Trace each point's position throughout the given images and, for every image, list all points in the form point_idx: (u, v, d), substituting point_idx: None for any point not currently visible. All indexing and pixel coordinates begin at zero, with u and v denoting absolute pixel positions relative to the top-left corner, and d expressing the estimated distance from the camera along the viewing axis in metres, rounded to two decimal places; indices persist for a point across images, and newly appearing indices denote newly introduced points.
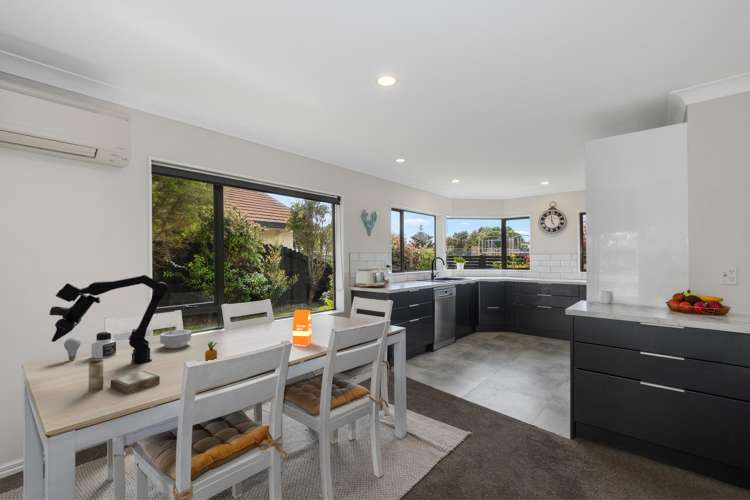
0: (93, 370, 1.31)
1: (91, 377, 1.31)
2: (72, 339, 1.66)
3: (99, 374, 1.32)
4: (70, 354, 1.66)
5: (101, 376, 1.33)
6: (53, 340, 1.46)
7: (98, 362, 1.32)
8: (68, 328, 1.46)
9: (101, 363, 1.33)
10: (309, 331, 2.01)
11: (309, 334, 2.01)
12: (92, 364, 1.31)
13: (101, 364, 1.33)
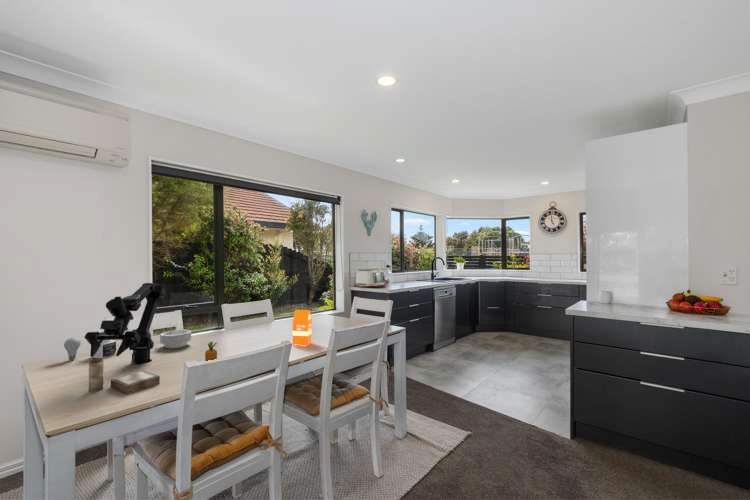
0: (93, 370, 1.31)
1: (91, 377, 1.31)
2: (72, 339, 1.66)
3: (99, 374, 1.32)
4: (70, 354, 1.66)
5: (101, 376, 1.33)
6: (118, 354, 1.39)
7: (98, 362, 1.32)
8: (138, 340, 1.46)
9: (101, 363, 1.33)
10: (309, 331, 2.01)
11: (309, 334, 2.01)
12: (92, 364, 1.31)
13: (101, 364, 1.33)
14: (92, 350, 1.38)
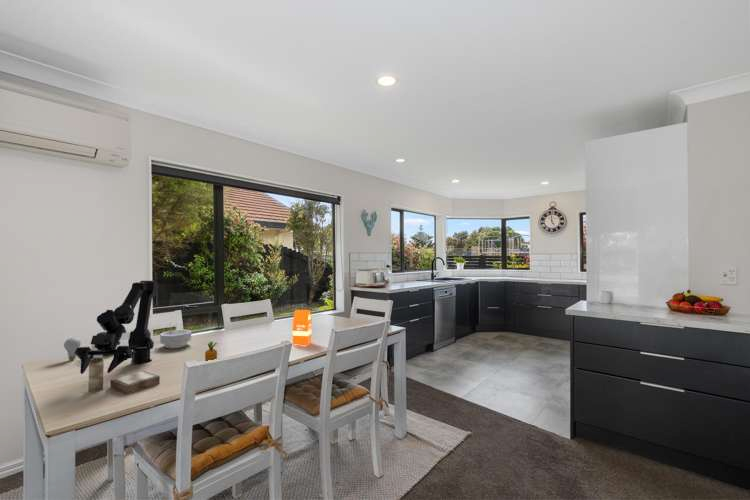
0: (93, 370, 1.31)
1: (91, 377, 1.31)
2: (72, 339, 1.66)
3: (99, 374, 1.32)
4: (70, 354, 1.66)
5: (101, 376, 1.33)
6: (109, 371, 1.34)
7: (98, 362, 1.32)
8: (131, 355, 1.41)
9: (101, 363, 1.33)
10: (309, 331, 2.01)
11: (309, 334, 2.01)
12: (92, 364, 1.31)
13: (101, 364, 1.33)
14: (82, 366, 1.33)
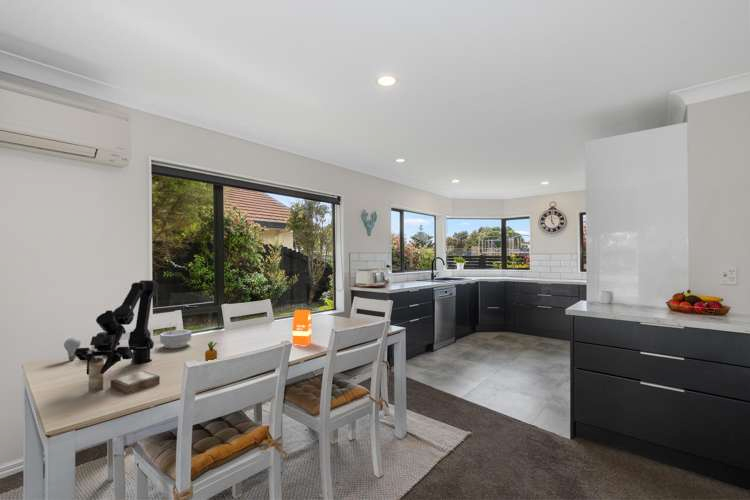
0: (93, 370, 1.31)
1: (91, 377, 1.31)
2: (72, 339, 1.66)
3: (99, 374, 1.32)
4: (70, 354, 1.66)
5: (101, 376, 1.33)
6: (103, 372, 1.33)
7: (98, 362, 1.32)
8: (131, 356, 1.41)
9: (101, 363, 1.33)
10: (309, 331, 2.01)
11: (309, 334, 2.01)
12: (92, 364, 1.31)
13: (101, 364, 1.33)
14: (88, 367, 1.33)
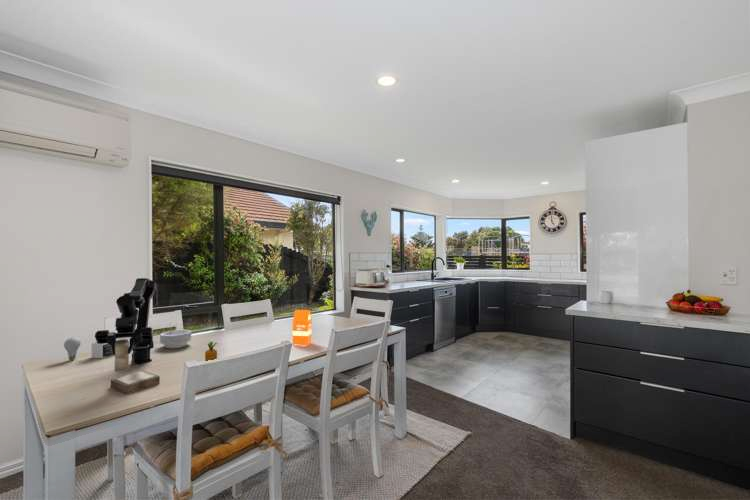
0: (121, 350, 1.34)
1: (118, 357, 1.34)
2: (72, 339, 1.66)
3: (126, 354, 1.36)
4: (70, 354, 1.66)
5: (128, 356, 1.36)
6: (129, 352, 1.37)
7: (125, 342, 1.35)
8: (152, 336, 1.45)
9: (128, 343, 1.36)
10: (309, 331, 2.01)
11: (309, 334, 2.01)
12: (120, 344, 1.34)
13: (128, 344, 1.36)
14: (114, 348, 1.35)
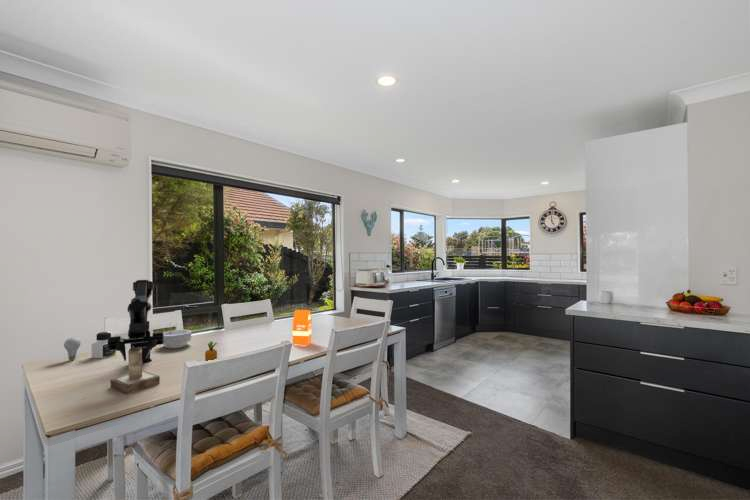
0: (135, 357, 1.36)
1: (133, 364, 1.36)
2: (72, 339, 1.66)
3: (140, 361, 1.38)
4: (70, 354, 1.66)
5: (141, 363, 1.39)
6: (146, 356, 1.39)
7: (139, 350, 1.37)
8: None
9: (141, 350, 1.38)
10: (309, 331, 2.01)
11: (309, 334, 2.01)
12: (134, 352, 1.36)
13: (141, 352, 1.38)
14: (124, 354, 1.36)
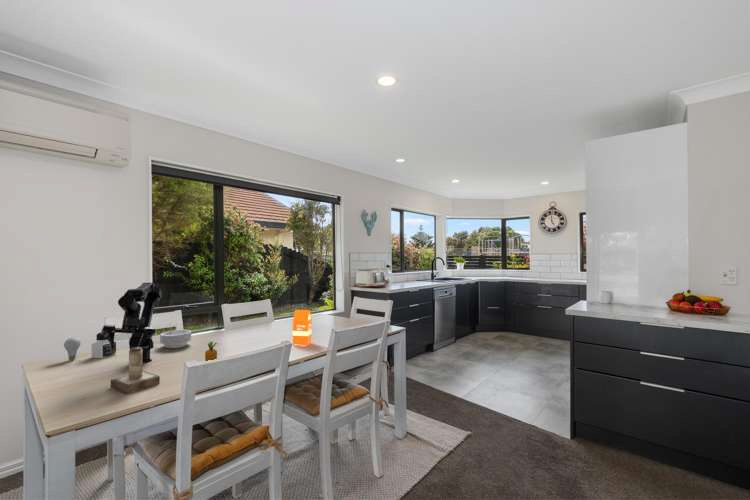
0: (136, 358, 1.36)
1: (134, 364, 1.36)
2: (72, 339, 1.66)
3: (141, 361, 1.38)
4: (70, 354, 1.66)
5: None
6: None
7: (140, 350, 1.37)
8: (152, 335, 1.57)
9: None
10: (309, 331, 2.01)
11: (309, 334, 2.01)
12: (135, 352, 1.36)
13: (141, 352, 1.38)
14: (112, 344, 1.44)
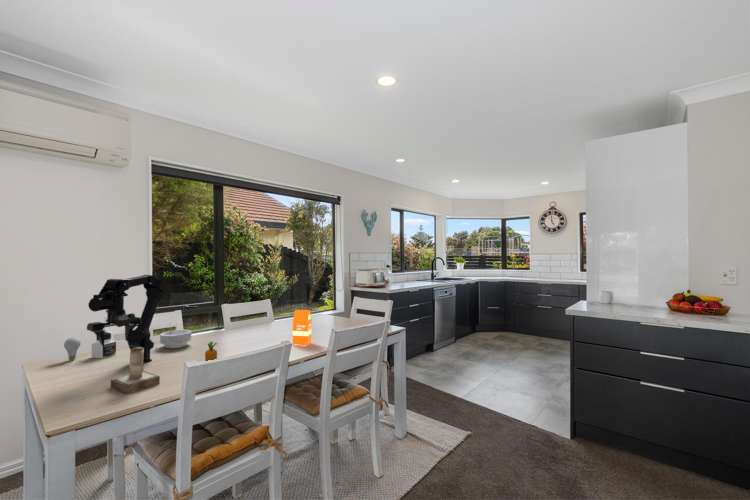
0: (137, 357, 1.36)
1: (135, 364, 1.36)
2: (72, 339, 1.66)
3: (142, 361, 1.38)
4: (70, 354, 1.66)
5: (142, 363, 1.39)
6: None
7: (141, 350, 1.38)
8: None
9: (143, 350, 1.39)
10: (309, 331, 2.01)
11: (309, 334, 2.01)
12: (136, 352, 1.36)
13: (143, 352, 1.39)
14: (103, 340, 1.47)
